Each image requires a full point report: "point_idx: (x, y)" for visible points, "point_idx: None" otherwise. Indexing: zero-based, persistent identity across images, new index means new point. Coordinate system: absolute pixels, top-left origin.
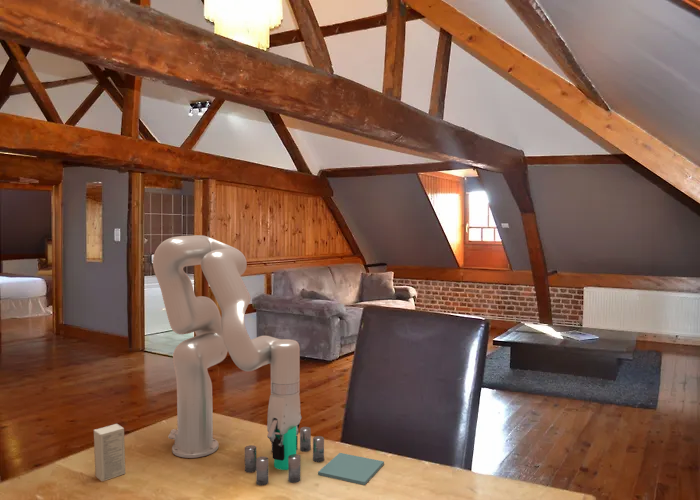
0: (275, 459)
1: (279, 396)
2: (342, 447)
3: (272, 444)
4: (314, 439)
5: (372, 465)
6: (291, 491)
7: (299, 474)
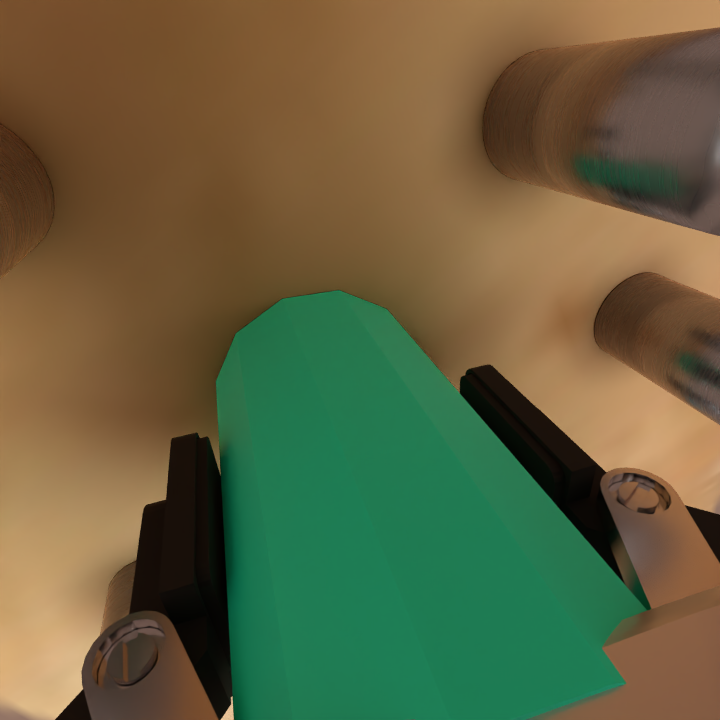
0: (228, 405)
1: None
2: (700, 463)
3: (115, 633)
4: None
5: None
6: (15, 674)
7: None
